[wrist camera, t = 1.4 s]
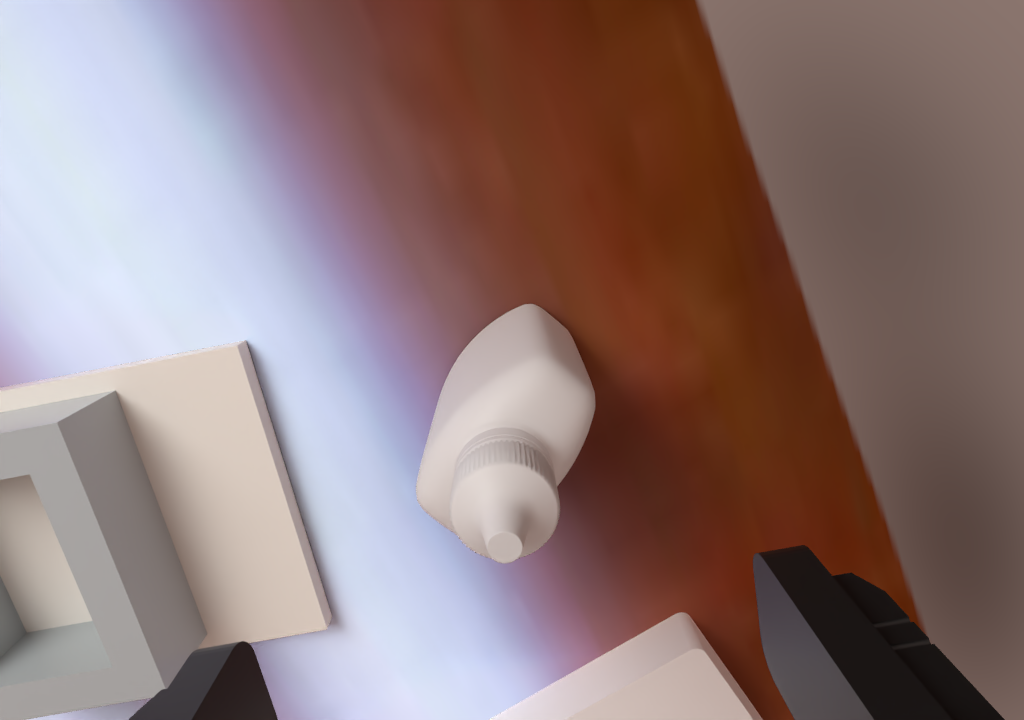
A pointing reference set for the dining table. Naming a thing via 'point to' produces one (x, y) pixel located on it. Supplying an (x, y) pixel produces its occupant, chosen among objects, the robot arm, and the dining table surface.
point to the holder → (645, 683)
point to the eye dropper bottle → (507, 435)
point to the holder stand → (142, 529)
